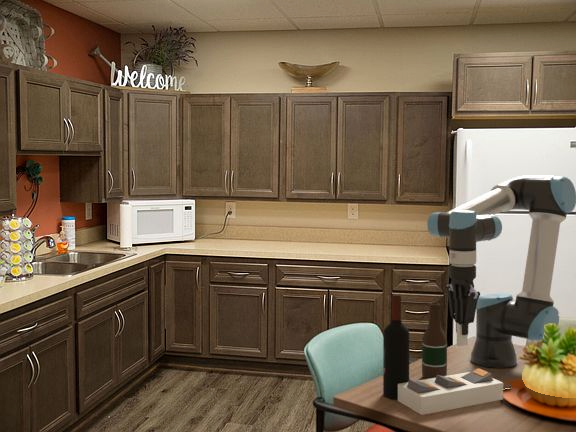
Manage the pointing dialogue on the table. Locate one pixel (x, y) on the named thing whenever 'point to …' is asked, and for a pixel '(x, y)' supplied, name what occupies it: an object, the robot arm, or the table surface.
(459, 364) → the table surface
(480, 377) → the rocker
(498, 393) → the power strip
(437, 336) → the beer bottle
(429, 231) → the robot arm
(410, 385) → the rocker
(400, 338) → the wine bottle
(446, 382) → the rocker
